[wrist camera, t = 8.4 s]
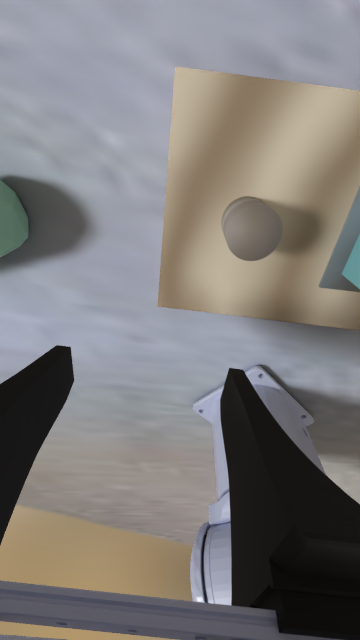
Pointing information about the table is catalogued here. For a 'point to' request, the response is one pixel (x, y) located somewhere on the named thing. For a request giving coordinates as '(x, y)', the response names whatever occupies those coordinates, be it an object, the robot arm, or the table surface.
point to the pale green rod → (11, 221)
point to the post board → (261, 199)
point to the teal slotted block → (353, 265)
